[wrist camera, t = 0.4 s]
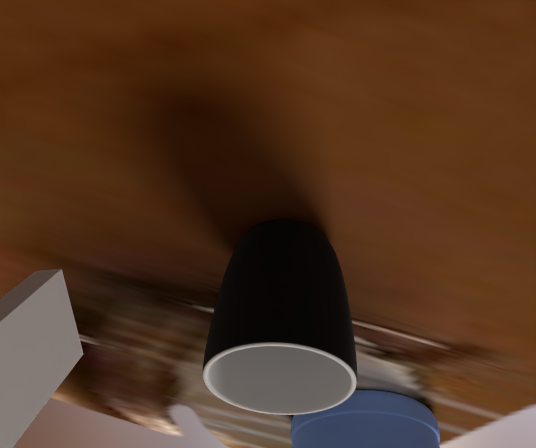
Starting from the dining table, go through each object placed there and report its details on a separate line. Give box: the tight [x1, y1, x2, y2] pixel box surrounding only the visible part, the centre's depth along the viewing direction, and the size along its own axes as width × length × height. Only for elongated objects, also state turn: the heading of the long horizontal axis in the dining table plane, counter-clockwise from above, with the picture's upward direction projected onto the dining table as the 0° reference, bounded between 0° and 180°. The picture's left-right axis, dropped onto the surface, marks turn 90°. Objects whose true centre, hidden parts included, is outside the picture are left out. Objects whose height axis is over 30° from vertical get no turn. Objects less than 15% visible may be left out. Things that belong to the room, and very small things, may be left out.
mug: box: [203, 220, 357, 415], centre depth 34 cm, size 12×9×10 cm
